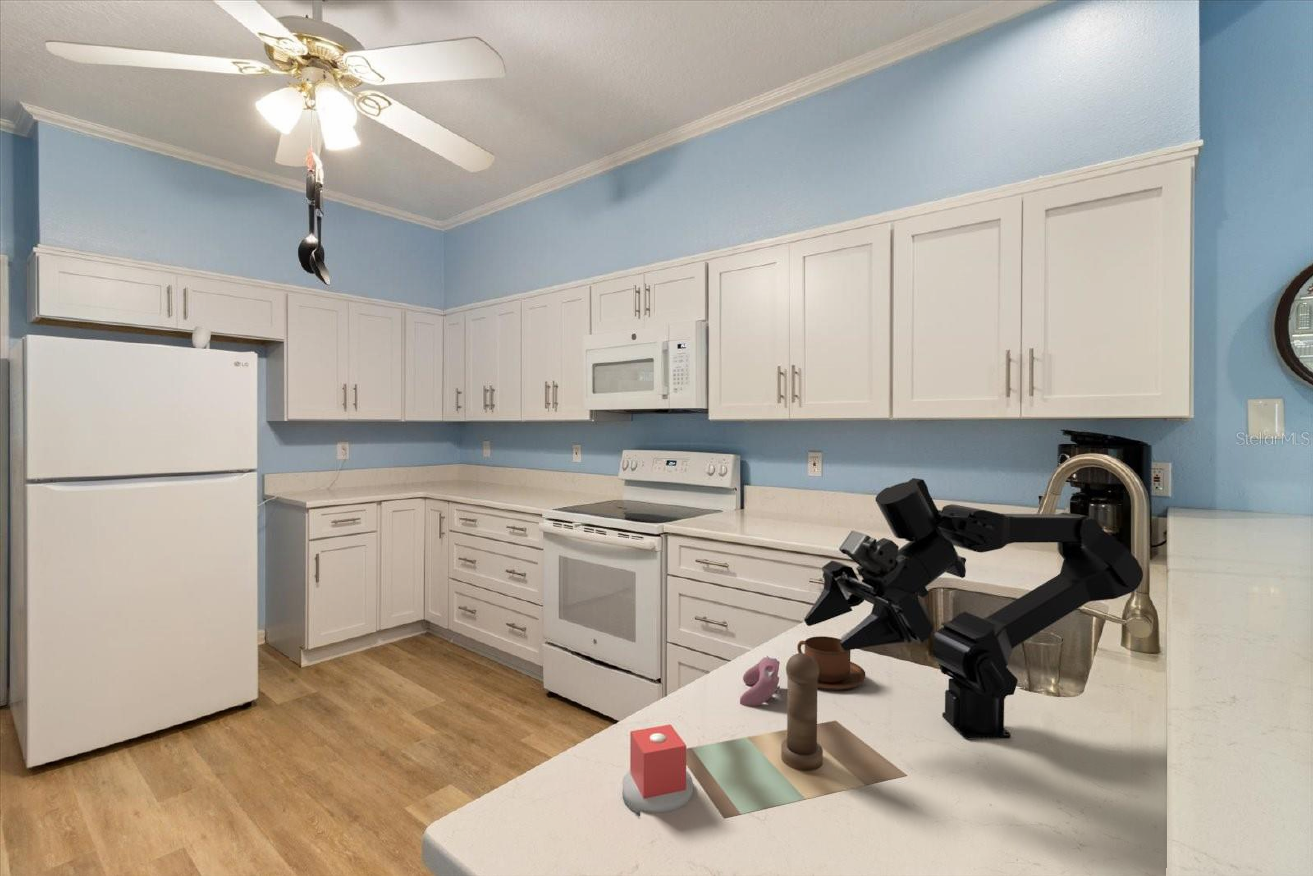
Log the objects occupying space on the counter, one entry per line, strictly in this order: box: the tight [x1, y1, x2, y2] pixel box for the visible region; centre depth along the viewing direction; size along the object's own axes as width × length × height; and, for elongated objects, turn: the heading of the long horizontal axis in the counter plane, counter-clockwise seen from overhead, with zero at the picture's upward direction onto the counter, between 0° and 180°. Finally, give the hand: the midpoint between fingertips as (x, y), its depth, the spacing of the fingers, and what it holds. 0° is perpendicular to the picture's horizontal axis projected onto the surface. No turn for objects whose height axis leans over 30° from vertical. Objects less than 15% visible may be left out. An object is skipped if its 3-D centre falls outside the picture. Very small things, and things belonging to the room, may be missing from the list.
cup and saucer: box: [797, 635, 866, 691], centre depth 100 cm, size 12×12×6 cm
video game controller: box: [739, 655, 781, 707], centre depth 94 cm, size 10×5×7 cm, turn 168°
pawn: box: [781, 652, 823, 771], centre depth 75 cm, size 5×5×13 cm
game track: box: [686, 720, 908, 819], centre depth 75 cm, size 24×14×1 cm, turn 109°
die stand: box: [622, 724, 694, 815], centre depth 69 cm, size 8×8×7 cm
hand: (822, 634), depth 78 cm, fingers open, 9 cm apart
